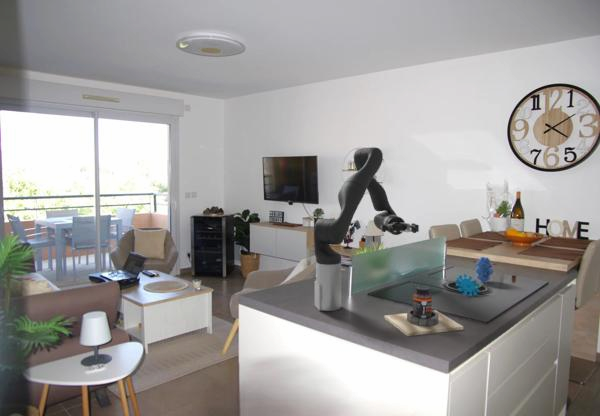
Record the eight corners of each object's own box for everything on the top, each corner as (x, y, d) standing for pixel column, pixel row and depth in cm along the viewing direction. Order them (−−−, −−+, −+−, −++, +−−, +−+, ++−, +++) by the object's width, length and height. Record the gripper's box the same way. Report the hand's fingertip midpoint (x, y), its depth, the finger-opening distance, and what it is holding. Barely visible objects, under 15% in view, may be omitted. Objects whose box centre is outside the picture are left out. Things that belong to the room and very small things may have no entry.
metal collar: (416, 327, 137) (417, 320, 136) (401, 317, 146) (401, 310, 146) (444, 324, 139) (444, 317, 139) (427, 314, 149) (427, 307, 149)
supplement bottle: (428, 325, 139) (429, 291, 138) (410, 321, 142) (411, 288, 141) (433, 319, 144) (434, 286, 143) (415, 316, 147) (416, 284, 146)
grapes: (486, 287, 185) (487, 259, 184) (471, 283, 190) (472, 257, 189) (499, 282, 192) (500, 256, 191) (484, 279, 197) (485, 253, 196)
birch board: (407, 336, 133) (407, 333, 133) (384, 318, 148) (384, 315, 148) (463, 329, 138) (463, 326, 138) (435, 312, 153) (435, 310, 153)
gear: (460, 294, 170) (454, 272, 176) (453, 301, 174) (448, 279, 180) (485, 296, 171) (479, 275, 177) (478, 303, 176) (472, 282, 182)
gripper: (377, 215, 178) (385, 220, 162) (411, 215, 178) (422, 220, 162) (376, 233, 179) (385, 240, 163) (410, 233, 179) (422, 240, 163)
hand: (403, 230), depth 162 cm, fingers open, 8 cm apart
